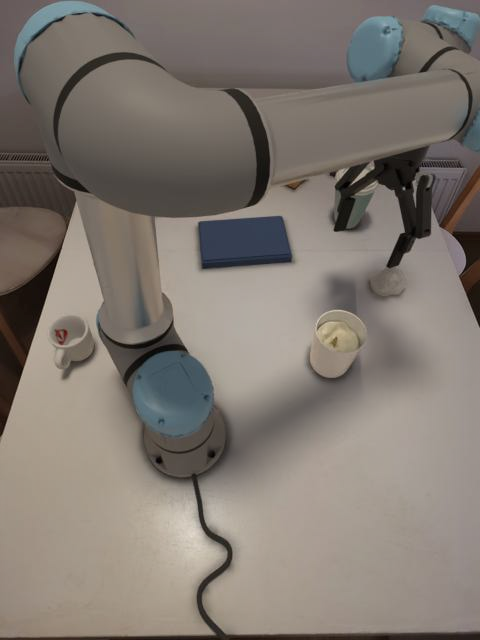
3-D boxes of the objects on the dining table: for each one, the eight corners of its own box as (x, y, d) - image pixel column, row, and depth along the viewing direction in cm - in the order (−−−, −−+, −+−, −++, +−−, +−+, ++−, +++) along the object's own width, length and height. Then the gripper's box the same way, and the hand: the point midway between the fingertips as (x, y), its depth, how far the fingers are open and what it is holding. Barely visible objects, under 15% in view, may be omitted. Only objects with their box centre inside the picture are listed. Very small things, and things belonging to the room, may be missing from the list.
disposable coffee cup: (347, 240, 111) (362, 194, 98) (316, 218, 115) (327, 171, 102) (373, 221, 115) (390, 175, 102) (342, 200, 119) (356, 153, 106)
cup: (84, 381, 88) (72, 363, 81) (48, 374, 88) (33, 355, 82) (104, 337, 93) (94, 316, 87) (69, 330, 94) (57, 310, 88)
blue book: (291, 261, 106) (292, 255, 104) (202, 268, 105) (201, 262, 103) (281, 221, 114) (282, 215, 112) (198, 227, 112) (198, 221, 110)
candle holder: (325, 332, 95) (337, 301, 85) (361, 361, 91) (377, 331, 81) (296, 360, 91) (304, 330, 81) (332, 390, 88) (345, 363, 78)
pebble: (377, 268, 106) (383, 254, 102) (408, 283, 103) (415, 269, 99) (361, 290, 102) (367, 277, 98) (393, 307, 99) (400, 294, 95)
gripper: (494, 157, 62) (430, 278, 75) (367, 105, 76) (332, 214, 90) (466, 160, 58) (404, 288, 71) (338, 105, 72) (306, 219, 86)
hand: (364, 247), depth 80 cm, fingers open, 13 cm apart
